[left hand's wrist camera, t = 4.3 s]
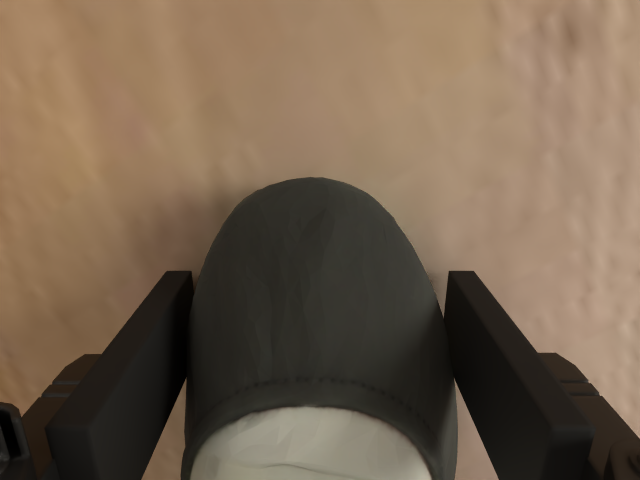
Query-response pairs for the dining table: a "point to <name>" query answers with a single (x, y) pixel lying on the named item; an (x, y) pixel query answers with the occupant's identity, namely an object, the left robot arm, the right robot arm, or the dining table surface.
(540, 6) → the dining table surface
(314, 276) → the ballet flat
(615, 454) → the left robot arm
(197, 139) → the dining table surface
